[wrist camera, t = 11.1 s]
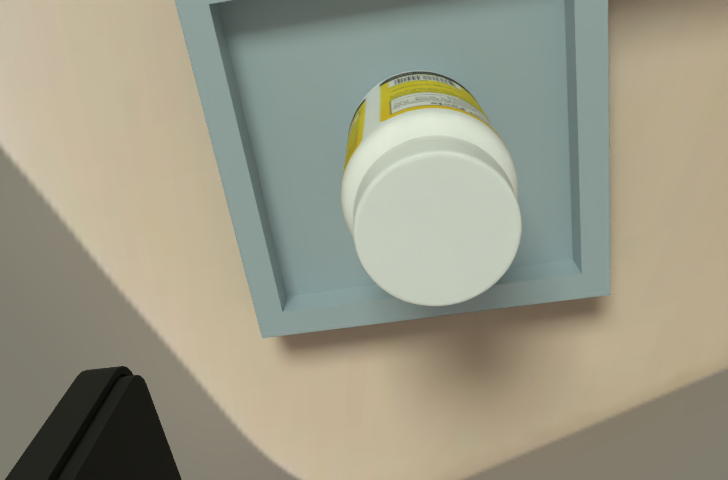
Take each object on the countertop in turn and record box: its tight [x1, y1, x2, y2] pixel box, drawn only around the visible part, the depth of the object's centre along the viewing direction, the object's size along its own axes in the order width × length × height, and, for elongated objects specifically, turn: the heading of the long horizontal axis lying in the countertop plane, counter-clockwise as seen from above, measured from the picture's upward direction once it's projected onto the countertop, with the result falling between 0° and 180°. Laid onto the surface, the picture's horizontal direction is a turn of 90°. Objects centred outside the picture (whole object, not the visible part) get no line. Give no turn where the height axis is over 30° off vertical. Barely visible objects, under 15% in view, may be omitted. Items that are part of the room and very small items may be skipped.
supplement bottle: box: [341, 70, 522, 306], centre depth 19 cm, size 5×5×8 cm
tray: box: [175, 0, 610, 338], centre depth 23 cm, size 13×13×2 cm
